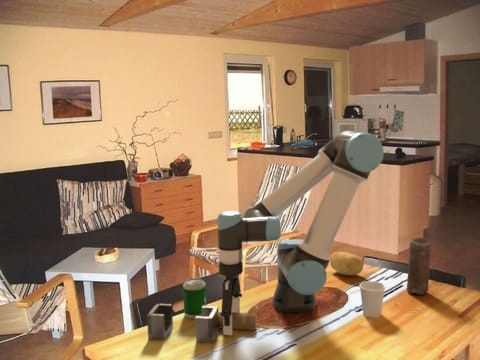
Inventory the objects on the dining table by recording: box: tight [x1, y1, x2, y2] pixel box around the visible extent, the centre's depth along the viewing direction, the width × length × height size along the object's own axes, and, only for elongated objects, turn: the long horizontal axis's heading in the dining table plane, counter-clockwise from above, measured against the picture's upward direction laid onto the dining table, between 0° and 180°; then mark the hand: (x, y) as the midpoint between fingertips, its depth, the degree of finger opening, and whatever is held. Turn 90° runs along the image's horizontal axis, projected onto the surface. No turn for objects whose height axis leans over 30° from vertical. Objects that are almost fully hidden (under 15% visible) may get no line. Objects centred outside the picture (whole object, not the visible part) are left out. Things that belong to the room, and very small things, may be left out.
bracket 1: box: [146, 303, 174, 342], centre depth 155 cm, size 5×9×8 cm, turn 170°
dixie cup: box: [359, 280, 387, 319], centre depth 166 cm, size 8×8×10 cm
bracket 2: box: [194, 305, 220, 345], centre depth 152 cm, size 5×9×8 cm, turn 170°
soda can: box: [182, 278, 207, 320], centre depth 168 cm, size 8×8×12 cm
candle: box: [406, 237, 432, 295], centre depth 182 cm, size 8×7×20 cm
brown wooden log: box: [218, 311, 257, 331], centre depth 159 cm, size 15×5×5 cm, turn 80°
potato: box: [329, 251, 365, 277], centre depth 204 cm, size 10×14×10 cm
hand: (232, 325), depth 160 cm, fingers open, 12 cm apart
